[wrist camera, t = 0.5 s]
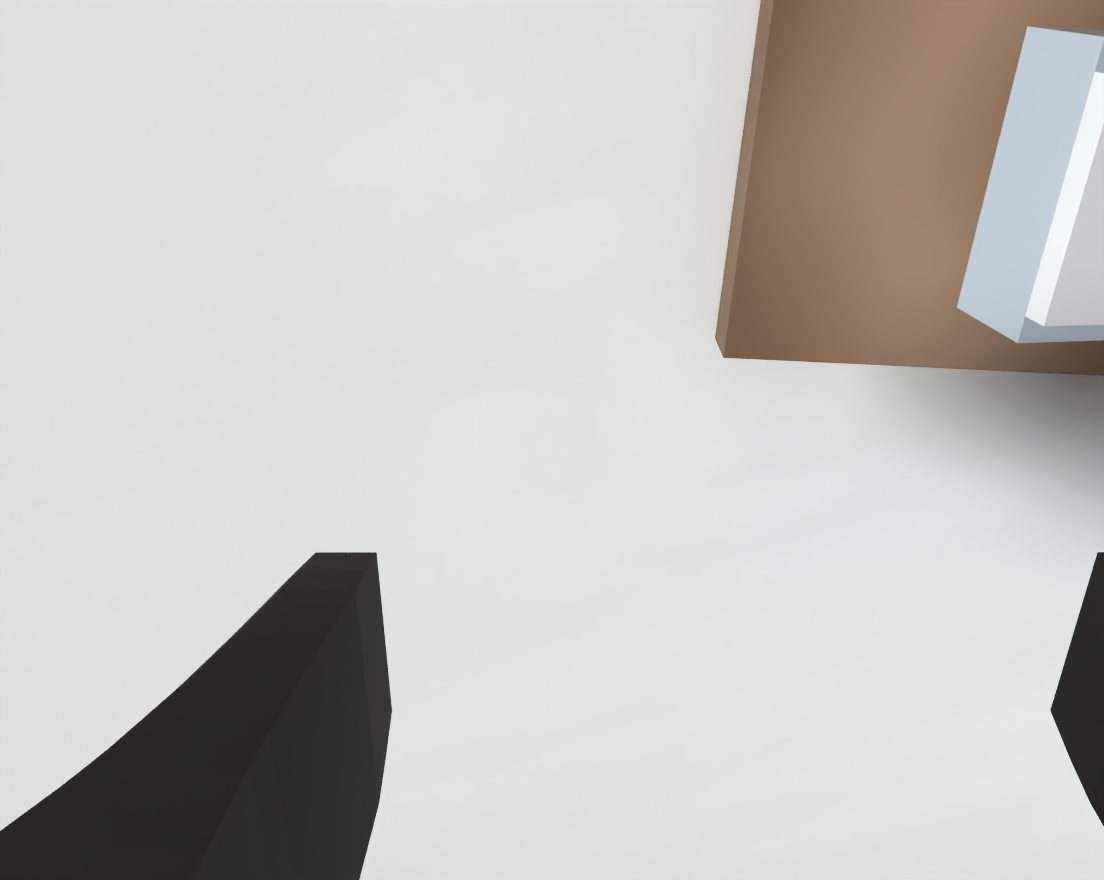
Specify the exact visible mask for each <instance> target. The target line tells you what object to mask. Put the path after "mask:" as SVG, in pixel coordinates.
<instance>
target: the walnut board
mask: <svg viewBox="0 0 1104 880" xmlns="http://www.w3.org/2000/svg"><path fill="white" fill-rule="evenodd" d="M1027 26H1032V27H1055V28H1077V29H1100V30H1104V0H761V4H760V11H759V19H758V26H757V33H756V41H755V48H754V56H753V63H752V70H751V78H750V85H749V92H748V100H747V107H746V115H745V122H744V129H743V137H742V144H741V152H740V159H739V166H738V174H737V181H736V189H735V196H734V203H733V211H732V218H731V226H730V233H729V240H728V248H727V255H726V262H725V270H724V277H723V285H722V292H721V299H720V307H719V314H718V322H717V329H716V336H715V339H716V341H717V343H718V346H719V348H720V351H721V353H722V355H723V358H743V359H764V360H785V361H806V362H828V363H849V364H870V365H891V366H912V367H933V368H954V369H975V370H996V371H1017V372H1038V373H1060V374H1081V375H1102V376H1104V340H1099V341H1070V342H1040V343H1016V342H1015V341H1013V340H1011V339H1009V338H1008V337H1006V336H1004V335H1003V334H1001V333H999V332H998V331H996V330H994V329H992V328H991V327H989V326H987V325H986V324H984V323H982V322H981V321H979V320H977V319H976V318H974V317H972V316H970V315H969V314H967V313H965V312H964V311H962V310H960V309H959V308H957V305H958V301H959V297H960V293H961V289H962V285H963V281H964V277H965V273H966V269H967V265H968V261H969V257H970V253H971V249H972V245H973V241H974V237H975V233H976V229H977V225H978V221H979V217H980V213H981V209H982V205H983V201H984V197H985V193H986V189H987V185H988V181H989V177H990V173H991V169H992V165H993V161H994V157H995V153H996V149H997V145H998V141H999V137H1000V134H1001V130H1002V126H1003V122H1004V118H1005V114H1006V110H1007V106H1008V102H1009V98H1010V94H1011V90H1012V86H1013V82H1014V78H1015V74H1016V70H1017V66H1018V62H1019V58H1020V54H1021V50H1022V46H1023V42H1024V38H1025V34H1026V30H1027Z"/></svg>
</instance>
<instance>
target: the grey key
mask: <svg viewBox="0 0 1104 880" xmlns="http://www.w3.org/2000/svg"><path fill="white" fill-rule="evenodd" d="M957 308H959V309H960V310H962V311H964V312H965V313H967V314H969V315H970V316H972V317H974V318H976V319H977V320H979V321H981V322H982V323H984V324H986V325H987V326H989V327H991V328H992V329H994V330H996V331H998V332H999V333H1001V334H1003V335H1004V336H1006V337H1008V338H1009V339H1011V340H1013V341H1015V342H1016V343H1040V342H1070V341H1099V340H1104V30H1100V29H1077V28H1055V27H1032V26H1027V30H1026V34H1025V38H1024V42H1023V46H1022V50H1021V54H1020V58H1019V62H1018V66H1017V70H1016V74H1015V78H1014V82H1013V86H1012V90H1011V94H1010V98H1009V102H1008V106H1007V110H1006V114H1005V118H1004V122H1003V126H1002V130H1001V134H1000V137H999V141H998V145H997V149H996V153H995V157H994V161H993V165H992V169H991V173H990V177H989V181H988V185H987V189H986V193H985V197H984V201H983V205H982V209H981V213H980V217H979V221H978V225H977V229H976V233H975V237H974V241H973V245H972V249H971V253H970V257H969V261H968V265H967V269H966V273H965V277H964V281H963V285H962V289H961V293H960V297H959V301H958V305H957Z"/></svg>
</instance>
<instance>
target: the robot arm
mask: <svg viewBox="0 0 1104 880" xmlns="http://www.w3.org/2000/svg"><path fill="white" fill-rule="evenodd" d="M1050 711H1051V713H1052V715H1053V718H1054V720H1055V723H1056V725H1057V728H1058V730H1059V733H1060V735H1061V737H1062V740H1063V742H1064V745H1065V747H1066V750H1067V752H1068V754H1069V757H1070V759H1071V762H1072V764H1073V766H1074V768H1075V770H1076V773H1077V775H1078V777H1079V779H1080V781H1081V784H1082V786H1083V788H1084V790H1085V792H1086V794H1087V797H1088V799H1089V801H1090V803H1091V805H1092V807H1093V808H1094V810H1095V812H1096V814H1097V815H1098V817H1099V819H1100V820H1101V822H1102V824H1103V826H1104V552H1098V553H1097V556H1096V560H1095V563H1094V566H1093V570H1092V573H1091V577H1090V580H1089V583H1088V587H1087V590H1086V593H1085V597H1084V600H1083V603H1082V607H1081V610H1080V613H1079V617H1078V620H1077V623H1076V627H1075V630H1074V633H1073V637H1072V640H1071V643H1070V647H1069V650H1068V653H1067V657H1066V660H1065V664H1064V667H1063V670H1062V674H1061V677H1060V680H1059V684H1058V687H1057V690H1056V694H1055V697H1054V700H1053V704H1052V707H1051V710H1050ZM391 713H392V707H391V696H390V686H389V676H388V666H387V655H386V645H385V635H384V625H383V615H382V604H381V594H380V584H379V574H378V564H377V553H315V554H314V555H313V556H312V557H311V558H310V559H309V560H308V561H307V562H306V563H305V564H303V565H302V566H301V567H300V568H299V569H298V570H297V571H296V572H295V573H294V574H293V575H292V576H291V577H290V578H289V579H288V580H287V581H286V582H285V583H284V584H283V585H282V586H281V587H280V588H279V589H278V590H277V591H276V592H275V593H274V594H273V595H272V596H271V597H270V598H269V599H268V601H267V602H266V603H265V604H264V605H263V606H262V607H261V608H260V609H259V610H258V611H257V612H256V613H255V614H254V615H253V616H252V617H251V618H250V619H249V620H248V621H247V622H246V623H245V624H244V625H243V626H242V627H241V628H240V629H239V630H238V631H237V632H236V633H235V634H234V635H233V636H232V637H231V638H230V639H229V640H228V641H227V642H226V643H224V644H223V645H222V646H221V647H220V648H219V649H218V650H217V651H216V652H215V653H214V654H213V655H212V656H211V657H210V658H209V659H208V660H207V661H206V662H205V663H204V664H203V665H202V666H201V667H199V668H198V669H197V670H196V671H195V672H194V673H193V674H192V675H191V676H190V677H189V678H188V679H187V680H186V681H185V682H184V683H183V684H182V685H181V686H179V687H178V688H177V689H176V690H175V691H174V692H173V693H172V694H171V695H170V696H168V697H167V698H166V699H165V700H164V701H163V702H162V703H160V704H159V705H158V706H157V707H156V708H155V709H154V710H152V711H151V712H150V713H149V714H148V715H147V716H146V717H144V718H143V719H142V720H141V721H140V722H139V723H137V724H136V725H135V726H134V727H133V728H132V729H131V730H129V731H128V732H127V733H126V734H125V735H124V736H123V737H121V738H120V739H119V740H118V741H117V742H116V743H115V744H113V745H112V746H111V747H110V748H109V749H108V750H106V751H105V752H104V753H103V754H101V755H100V756H99V757H98V758H96V759H95V760H94V761H93V762H91V763H90V764H89V765H88V766H86V767H85V768H84V769H83V770H81V771H80V772H79V773H77V774H76V775H75V776H74V777H72V778H71V779H70V780H69V781H67V782H66V783H65V784H63V785H62V786H61V787H60V788H58V789H57V790H56V791H54V792H53V793H51V794H50V795H49V796H47V797H46V798H45V799H43V800H42V801H41V802H39V803H38V804H36V805H35V806H34V807H32V808H31V809H30V810H28V811H27V812H26V813H24V814H23V815H22V816H20V817H19V818H17V819H16V820H15V821H13V822H12V823H11V824H9V825H8V826H7V827H5V828H4V829H2V830H1V831H0V880H359V878H360V875H361V871H362V867H363V863H364V859H365V855H366V852H367V848H368V844H369V840H370V836H371V832H372V828H373V825H374V821H375V817H376V813H377V809H378V805H379V799H380V793H381V786H382V779H383V772H384V766H385V759H386V751H387V744H388V736H389V729H390V721H391Z"/></svg>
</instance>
